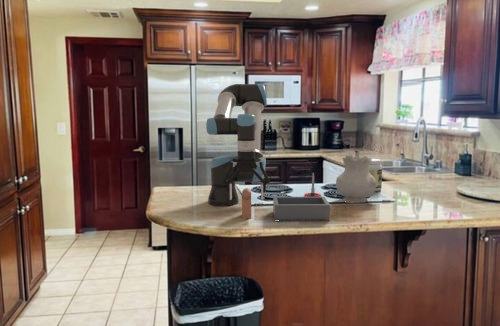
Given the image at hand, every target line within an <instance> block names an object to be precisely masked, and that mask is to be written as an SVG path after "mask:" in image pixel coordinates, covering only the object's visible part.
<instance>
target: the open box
mask: <svg viewBox="0 0 500 326" xmlns="http://www.w3.org/2000/svg"><path fill="white" fill-rule="evenodd" d="M272 199H273V202H272V203H273V207H272V208H273V209H272V210H273V218H275V219H274V221H275V220H279V221H278V222H330V221H331V204H330V203H329V201H328V200H327V197H325V196H320V197H306V196H273V198H272Z"/></svg>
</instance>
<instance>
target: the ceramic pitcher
mask: <svg viewBox="0 0 500 326" xmlns="http://www.w3.org/2000/svg"><path fill="white" fill-rule="evenodd" d="M354 153H355V154H354V156H353V154H348V155H345V156H343V157H342V161H343V164H344V171H343V172H342V173H341V174H339V175H338V176H337V177H336V181H335V185H336V190H337V192H338V193H339V194H340V195H341V196H342V197H343V198H342V199H343V202H345V201H346V202H345V203H347V204H357V203H358V204H359V203H360V204H361V203H367V202H368V199H366V198H369V197H370V196H372V195H373V194H374V192H376V191H375V188H376V180H375V178H374V177H373V176H372V175H371V174H370V173H369V170H368V168H369V164H370V162H371V160H372V159H373V158H372V157H368V156H366V155H363V156H362V157H361V154H360V153H361V152H360V151H359V150H358V149H355V150H354Z"/></svg>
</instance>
